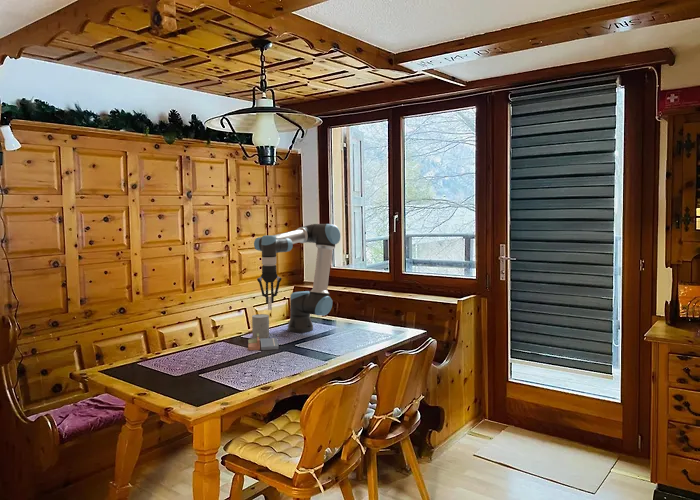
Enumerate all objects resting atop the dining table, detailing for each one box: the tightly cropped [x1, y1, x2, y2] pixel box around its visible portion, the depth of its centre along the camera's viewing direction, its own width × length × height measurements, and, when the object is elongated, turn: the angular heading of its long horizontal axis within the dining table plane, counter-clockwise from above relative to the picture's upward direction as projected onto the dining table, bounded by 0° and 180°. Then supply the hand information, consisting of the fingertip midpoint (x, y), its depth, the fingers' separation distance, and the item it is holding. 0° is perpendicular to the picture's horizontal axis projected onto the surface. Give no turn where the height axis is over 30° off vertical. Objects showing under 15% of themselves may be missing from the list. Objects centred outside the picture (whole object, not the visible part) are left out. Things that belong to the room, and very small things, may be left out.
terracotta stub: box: [247, 337, 261, 351], centre depth 285 cm, size 6×8×5 cm
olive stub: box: [247, 333, 259, 343], centre depth 293 cm, size 6×8×5 cm
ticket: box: [259, 337, 280, 351], centre depth 291 cm, size 9×18×2 cm, turn 11°
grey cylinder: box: [251, 313, 270, 340], centre depth 308 cm, size 10×10×12 cm
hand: (269, 309), depth 285 cm, fingers closed
